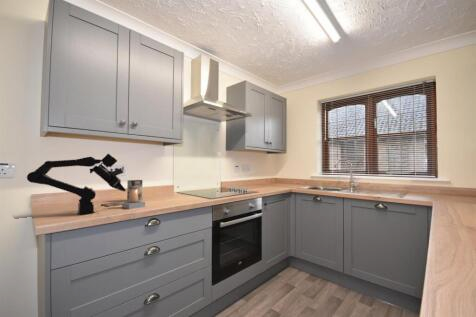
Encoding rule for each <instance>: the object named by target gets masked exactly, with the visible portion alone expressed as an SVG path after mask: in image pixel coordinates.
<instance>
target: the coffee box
mask: <svg viewBox="0 0 476 317" xmlns="http://www.w3.org/2000/svg"><path fill="white" fill-rule="evenodd" d="M130 186H139V188H138V201H143V179H129V180H127V189H126V202H129V187H130Z"/></svg>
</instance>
